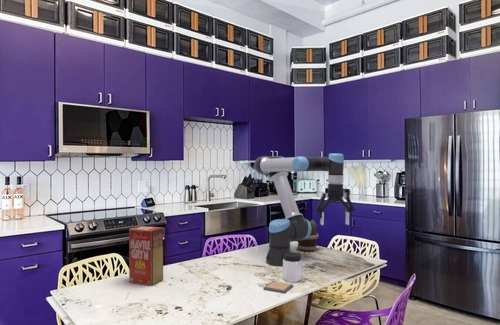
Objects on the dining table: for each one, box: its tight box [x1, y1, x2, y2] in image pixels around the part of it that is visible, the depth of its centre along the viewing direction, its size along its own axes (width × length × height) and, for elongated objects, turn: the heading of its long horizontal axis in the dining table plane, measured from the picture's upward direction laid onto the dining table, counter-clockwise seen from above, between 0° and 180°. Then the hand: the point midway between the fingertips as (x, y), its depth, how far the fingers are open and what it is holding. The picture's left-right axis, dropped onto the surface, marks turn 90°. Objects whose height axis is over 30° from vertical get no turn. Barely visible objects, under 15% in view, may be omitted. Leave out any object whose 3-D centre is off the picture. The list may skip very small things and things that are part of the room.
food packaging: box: [128, 225, 164, 287], centre depth 167 cm, size 13×9×25 cm
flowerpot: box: [297, 219, 319, 252], centre depth 228 cm, size 14×15×20 cm
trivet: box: [263, 281, 294, 294], centre depth 158 cm, size 10×10×1 cm
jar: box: [282, 251, 303, 283], centre depth 170 cm, size 9×8×12 cm
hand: (334, 224), depth 184 cm, fingers open, 13 cm apart
